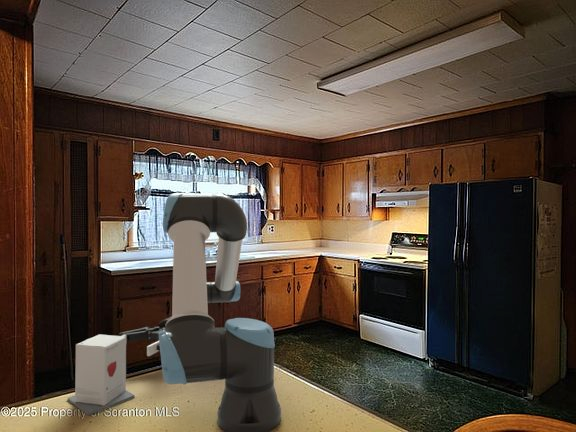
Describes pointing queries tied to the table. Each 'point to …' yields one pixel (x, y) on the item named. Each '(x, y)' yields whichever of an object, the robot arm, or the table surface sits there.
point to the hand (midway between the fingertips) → (128, 348)
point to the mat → (95, 408)
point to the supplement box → (100, 369)
